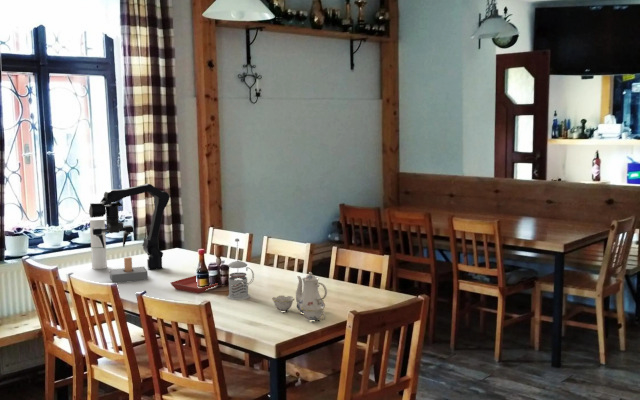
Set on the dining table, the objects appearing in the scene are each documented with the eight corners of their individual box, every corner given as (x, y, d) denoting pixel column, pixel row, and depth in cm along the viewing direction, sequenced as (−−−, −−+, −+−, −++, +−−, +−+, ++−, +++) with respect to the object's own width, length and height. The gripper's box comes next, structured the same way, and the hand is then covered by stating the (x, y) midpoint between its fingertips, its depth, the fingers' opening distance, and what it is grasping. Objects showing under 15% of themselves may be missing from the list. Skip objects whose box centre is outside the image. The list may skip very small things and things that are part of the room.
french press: (224, 295, 286) (222, 237, 283) (250, 292, 290) (249, 235, 288) (229, 301, 277) (228, 241, 274) (257, 298, 281) (255, 239, 278)
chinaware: (265, 316, 261) (261, 275, 258) (295, 303, 273) (291, 263, 270) (317, 330, 242) (313, 286, 239) (347, 316, 254) (344, 274, 251)
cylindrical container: (109, 266, 347) (106, 218, 344) (103, 269, 339) (101, 220, 337) (95, 265, 347) (93, 218, 344) (89, 268, 340) (87, 220, 337)
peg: (132, 277, 320) (131, 257, 319) (132, 279, 317) (132, 258, 316) (124, 278, 319) (123, 257, 318) (125, 280, 316) (124, 259, 315)
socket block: (144, 274, 326) (144, 266, 326) (147, 279, 315) (147, 271, 315) (110, 277, 320) (109, 269, 320) (112, 283, 309) (111, 274, 309)
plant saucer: (227, 286, 303) (227, 279, 302) (199, 295, 288) (199, 287, 287) (197, 281, 313) (197, 274, 312) (169, 290, 298) (169, 282, 297)
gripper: (93, 219, 315) (94, 252, 317) (134, 216, 322) (135, 248, 323) (91, 216, 325) (93, 248, 327) (131, 213, 332) (132, 244, 334)
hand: (113, 247), depth 327 cm, fingers open, 9 cm apart
